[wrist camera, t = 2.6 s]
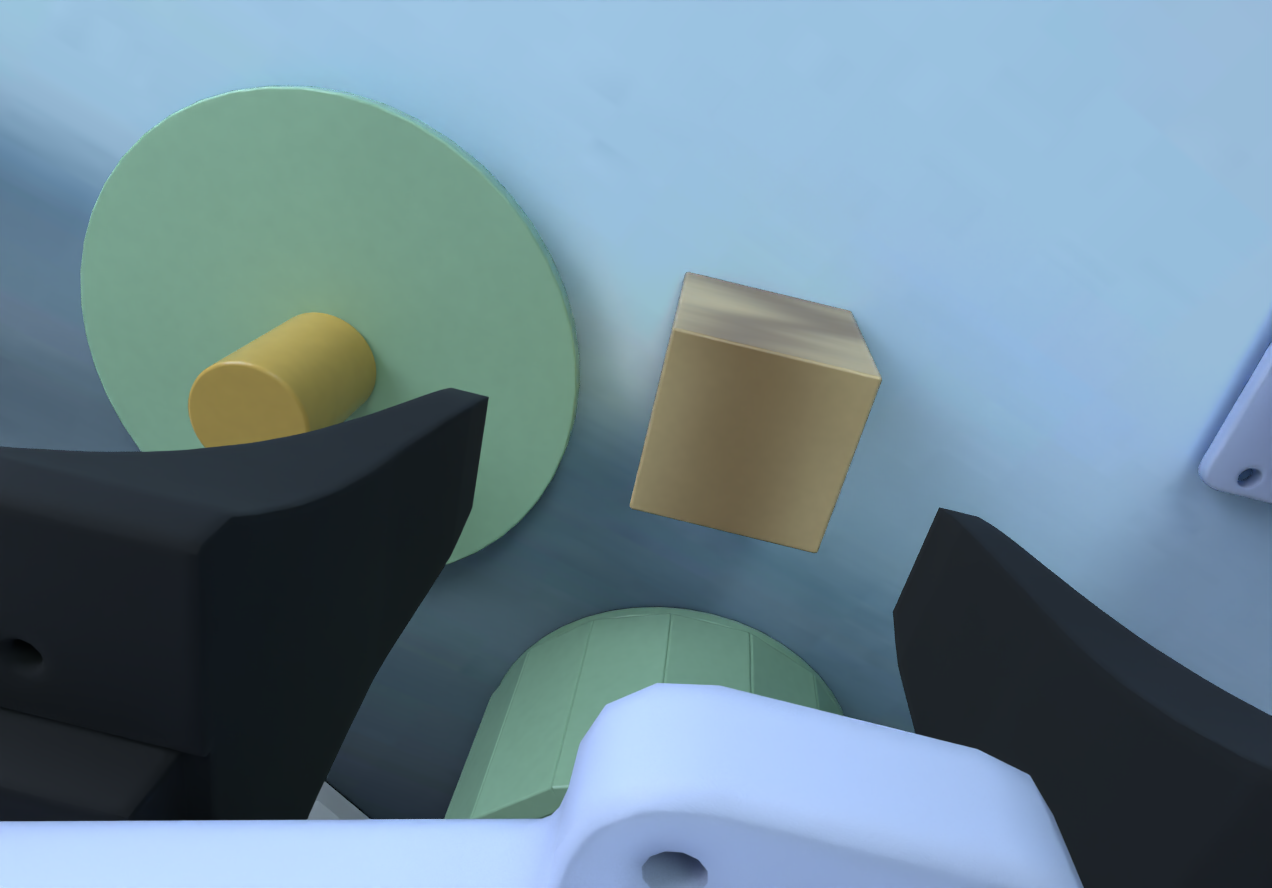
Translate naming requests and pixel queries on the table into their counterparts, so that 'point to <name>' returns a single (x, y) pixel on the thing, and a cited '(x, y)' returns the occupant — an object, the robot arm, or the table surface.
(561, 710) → the tin
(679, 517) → the block
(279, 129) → the lid
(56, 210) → the table surface
